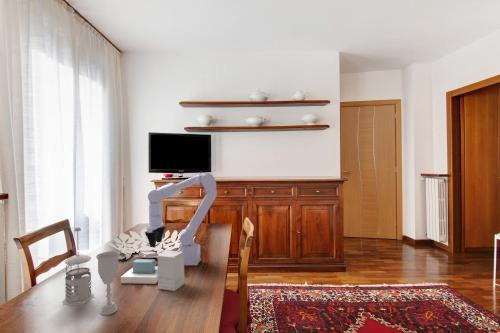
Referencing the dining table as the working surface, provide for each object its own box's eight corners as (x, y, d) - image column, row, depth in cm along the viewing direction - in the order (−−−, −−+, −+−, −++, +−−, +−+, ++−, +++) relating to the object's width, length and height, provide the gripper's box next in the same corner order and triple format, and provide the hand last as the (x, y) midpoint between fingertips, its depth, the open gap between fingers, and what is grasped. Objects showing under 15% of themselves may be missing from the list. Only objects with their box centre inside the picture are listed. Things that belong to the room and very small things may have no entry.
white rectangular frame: (166, 272, 125) (166, 266, 125) (155, 283, 113) (155, 277, 113) (134, 271, 125) (134, 266, 125) (120, 283, 113) (120, 276, 113)
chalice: (102, 305, 95) (102, 251, 95) (123, 304, 96) (123, 250, 96) (92, 317, 88) (91, 258, 88) (115, 316, 89) (114, 258, 88)
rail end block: (155, 276, 120) (155, 259, 120) (151, 279, 117) (151, 262, 117) (136, 275, 121) (136, 259, 121) (132, 279, 117) (132, 262, 117)
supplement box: (185, 283, 112) (184, 251, 112) (174, 291, 105) (173, 257, 105) (168, 281, 115) (168, 249, 115) (157, 288, 108) (156, 255, 108)
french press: (70, 308, 94) (69, 232, 93) (53, 299, 100) (52, 228, 100) (100, 296, 102) (99, 226, 102) (82, 289, 108) (81, 222, 108)
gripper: (153, 212, 141) (153, 240, 141) (140, 218, 127) (140, 249, 127) (167, 212, 141) (167, 240, 141) (156, 218, 126) (156, 249, 126)
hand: (155, 244), depth 134 cm, fingers open, 7 cm apart
